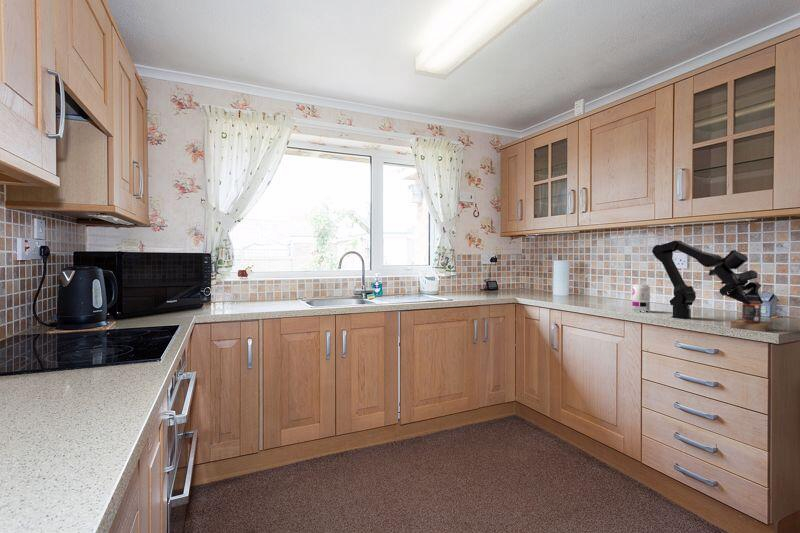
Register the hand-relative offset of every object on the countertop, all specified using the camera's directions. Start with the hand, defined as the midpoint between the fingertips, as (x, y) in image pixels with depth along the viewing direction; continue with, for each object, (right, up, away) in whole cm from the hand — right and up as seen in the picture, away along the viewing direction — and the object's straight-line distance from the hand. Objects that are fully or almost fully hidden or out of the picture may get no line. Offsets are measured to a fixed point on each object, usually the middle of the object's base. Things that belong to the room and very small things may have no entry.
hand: (755, 303), depth 167 cm
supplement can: (-16, -9, +53) cm, 56 cm away
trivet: (0, -11, +2) cm, 11 cm away
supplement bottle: (-1, -8, +2) cm, 8 cm away
